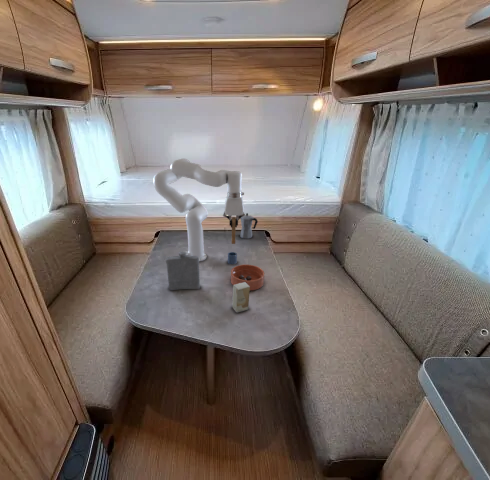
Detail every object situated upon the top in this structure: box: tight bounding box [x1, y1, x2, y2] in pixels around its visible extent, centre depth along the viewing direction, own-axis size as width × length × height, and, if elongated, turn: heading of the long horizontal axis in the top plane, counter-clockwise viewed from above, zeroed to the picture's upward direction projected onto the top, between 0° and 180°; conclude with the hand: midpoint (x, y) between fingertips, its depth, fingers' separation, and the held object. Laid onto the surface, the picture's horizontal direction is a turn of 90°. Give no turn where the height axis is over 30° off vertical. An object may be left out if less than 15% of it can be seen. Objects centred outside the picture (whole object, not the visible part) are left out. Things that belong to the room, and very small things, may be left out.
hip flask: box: [165, 250, 201, 291], centre depth 134 cm, size 16×4×20 cm, turn 92°
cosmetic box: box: [231, 282, 251, 313], centre depth 119 cm, size 6×4×12 cm
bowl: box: [230, 263, 265, 291], centre depth 140 cm, size 17×17×6 cm
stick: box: [230, 216, 237, 245], centre depth 152 cm, size 2×2×16 cm
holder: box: [227, 251, 238, 265], centre depth 160 cm, size 5×6×6 cm
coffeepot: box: [239, 212, 259, 239], centre depth 196 cm, size 15×9×18 cm, turn 51°
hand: (233, 226), depth 151 cm, fingers closed on stick, 2 cm apart
